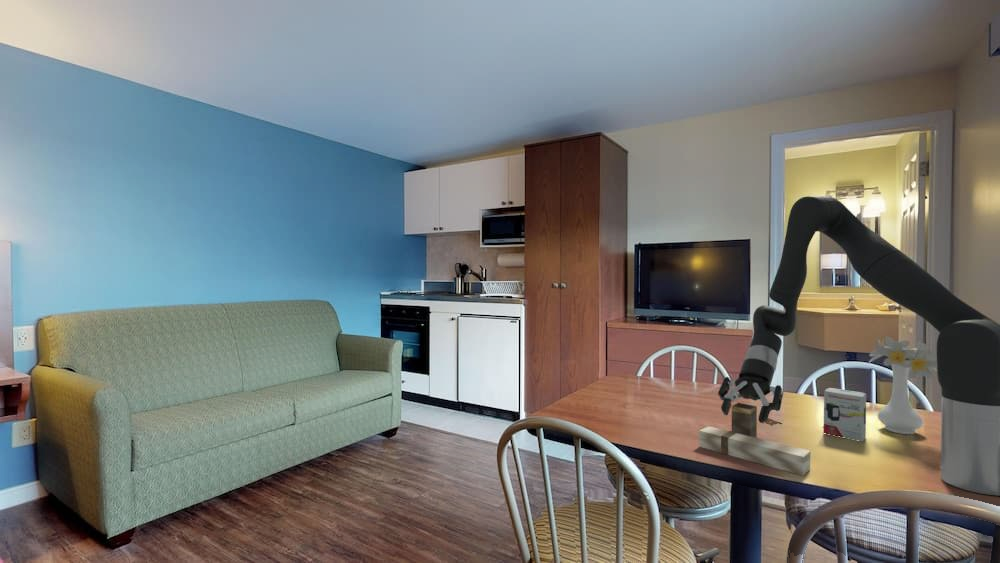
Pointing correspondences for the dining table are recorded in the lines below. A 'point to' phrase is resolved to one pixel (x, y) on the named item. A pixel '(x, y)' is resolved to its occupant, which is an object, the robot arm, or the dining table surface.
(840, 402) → the ink box
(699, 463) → the dining table surface
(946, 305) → the robot arm
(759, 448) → the board
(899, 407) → the flower vase
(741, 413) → the brown rectangular block
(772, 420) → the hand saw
